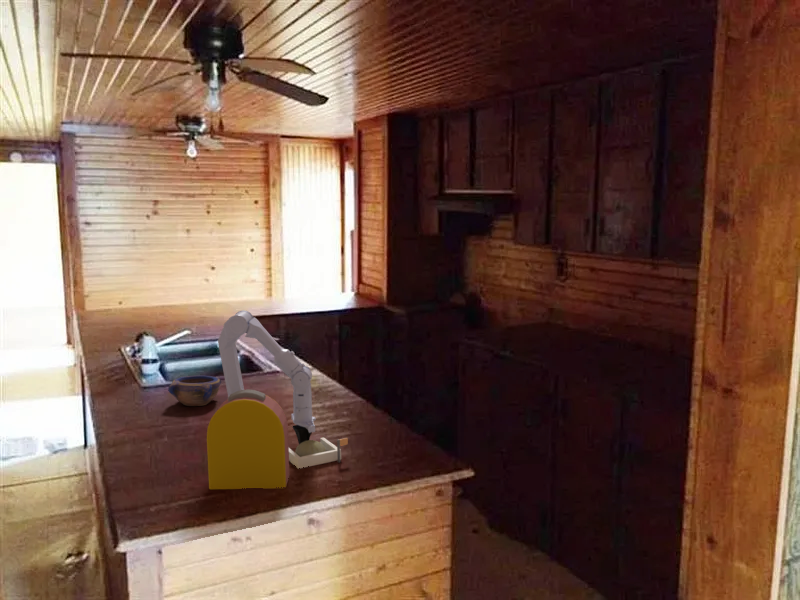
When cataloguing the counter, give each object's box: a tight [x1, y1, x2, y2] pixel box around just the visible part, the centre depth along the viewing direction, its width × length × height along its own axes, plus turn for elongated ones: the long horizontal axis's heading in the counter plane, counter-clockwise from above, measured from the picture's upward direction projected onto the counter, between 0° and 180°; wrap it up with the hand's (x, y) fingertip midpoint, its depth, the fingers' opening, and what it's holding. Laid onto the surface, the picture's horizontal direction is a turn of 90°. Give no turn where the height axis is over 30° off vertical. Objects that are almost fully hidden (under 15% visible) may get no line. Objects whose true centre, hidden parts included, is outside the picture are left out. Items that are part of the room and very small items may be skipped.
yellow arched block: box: [206, 388, 290, 490], centre depth 187 cm, size 21×9×26 cm, turn 92°
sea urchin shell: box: [294, 439, 326, 457], centre depth 207 cm, size 9×8×8 cm
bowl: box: [167, 375, 222, 407], centre depth 261 cm, size 18×18×10 cm
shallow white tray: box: [289, 437, 349, 470], centre depth 206 cm, size 16×14×7 cm
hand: (303, 447), depth 212 cm, fingers closed
